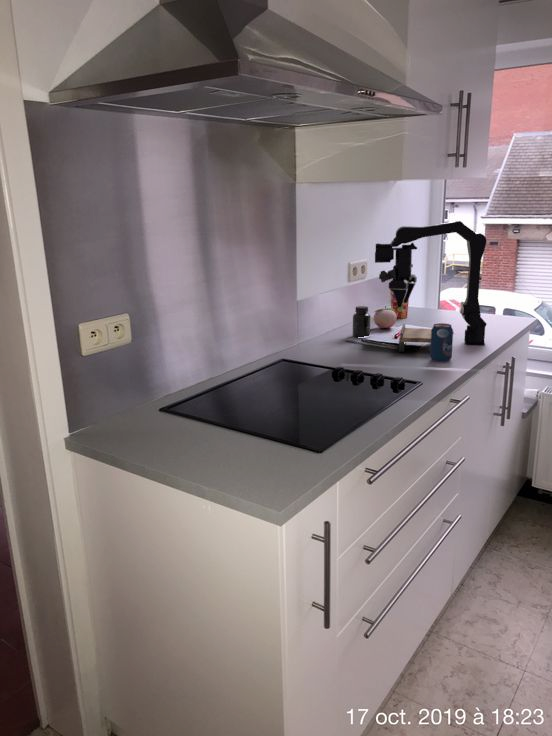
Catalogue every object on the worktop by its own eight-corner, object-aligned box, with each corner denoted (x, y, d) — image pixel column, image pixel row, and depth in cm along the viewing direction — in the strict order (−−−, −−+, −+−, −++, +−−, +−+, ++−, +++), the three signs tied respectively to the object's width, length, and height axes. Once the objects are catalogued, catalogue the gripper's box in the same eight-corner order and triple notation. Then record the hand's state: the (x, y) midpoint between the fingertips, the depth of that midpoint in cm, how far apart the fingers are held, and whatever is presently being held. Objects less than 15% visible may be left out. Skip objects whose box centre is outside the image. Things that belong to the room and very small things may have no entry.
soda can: (447, 364, 202) (449, 328, 198) (427, 361, 205) (428, 326, 202) (454, 359, 207) (456, 324, 204) (434, 356, 211) (435, 322, 208)
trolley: (436, 343, 229) (437, 324, 228) (435, 354, 214) (436, 334, 212) (401, 341, 233) (402, 323, 231) (398, 353, 217) (399, 333, 215)
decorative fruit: (381, 333, 247) (381, 308, 244) (370, 329, 254) (370, 305, 252) (401, 331, 251) (401, 306, 248) (389, 327, 258) (390, 303, 255)
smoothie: (406, 317, 276) (407, 272, 271) (411, 321, 268) (412, 275, 263) (387, 318, 276) (388, 273, 270) (392, 322, 268) (393, 275, 262)
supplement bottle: (371, 339, 238) (371, 308, 235) (353, 339, 239) (353, 308, 235) (369, 335, 245) (369, 305, 242) (351, 335, 245) (351, 305, 242)
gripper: (387, 259, 235) (387, 300, 239) (374, 264, 218) (374, 308, 222) (417, 259, 230) (416, 301, 234) (406, 265, 214) (405, 309, 218)
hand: (402, 305), depth 227 cm, fingers open, 9 cm apart
